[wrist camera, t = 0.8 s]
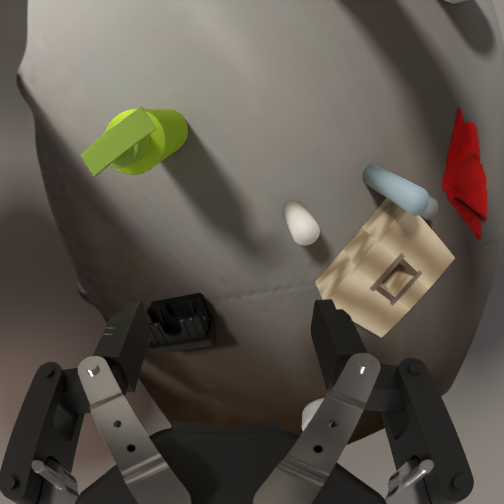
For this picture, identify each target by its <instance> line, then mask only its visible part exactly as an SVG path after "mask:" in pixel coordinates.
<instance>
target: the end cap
mask: <svg viewBox="0 0 504 504" xmlns="http://www.w3.org/2000/svg"><path fill="white" fill-rule="evenodd" d="M146 315H147V317H148V319H149V321H150V323H148V325H149V329H150V340H151V342H150V345H149V349H150V350H151V351H152V352H153V353H155V354H160V353H168V352H176V351H183V350H190V349H197V348H203V347H209V346H214V345H215V343H216V329H215V324H214V320H213V316H212V314H210V313H209V310H208V307H207V305H206V302H205V299H204V297H203V295H202V294H201V293H196V294H191V295H186V296H181V297H176V298H170V299H165V300H160V301H155V302H152V303H151V305H150V307H149V308H148V309H147V312H146Z"/></svg>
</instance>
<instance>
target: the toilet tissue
mask: <svg viewBox="0 0 504 504" xmlns="http://www.w3.org/2000/svg"><path fill="white" fill-rule="evenodd" d="M444 1H447V2H449V3H454V4H455V3H460V2H464V1H468V0H444Z"/></svg>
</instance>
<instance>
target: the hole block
mask: <svg viewBox="0 0 504 504" xmlns="http://www.w3.org/2000/svg"><path fill="white" fill-rule="evenodd" d="M454 259H455V257H454V256H453V255H452V253H451V252H450V251H449V250H448V248H447V247H446V246H445V245H444V243H443V242H442V241H441V240H440V239H439V237H438V236H437V235H436V234H435V233H434V231H433V230H432V229H431V228H430V227H429V226H428V224H427V223H426V222H425V221H424V220H423V219H422V218H421V217H420V215H418V216H413V215H411V214H410V213H408V212H407V211H405V210H404V209H403V208H401V207H400V206H398V205H397V204H395V203H394V202H392V201H391V200H389V199H388V198H385V200H384V201H383V202H382V203H381V205H380V206H379V207H378V208H377V210H376V211H375V212H374V213H373V215H372V216H371V217H370V218H369V219H368V221H367V222H366V223H365V224H364V226H363V227H362V228H361V229H360V230H359V232H358V233H357V234H356V235H355V236H354V237H353V239H352V240H351V241H350V242H349V243H348V245H347V246H346V247H345V248H344V249H343V250H342V252H341V253H340V254H339V255H338V256H337V257H336V259H335V260H334V261H333V262H332V263H331V264H330V265H329V267H328V268H327V269H326V270H325V271H324V272H323V273H322V274H321V276H320V277H319V278H318V279H317V280H316V281H315V283H316V285H317V287H318V290H319V292H320V294H321V297H322V299H323V300H324V299H332V300H333V302H334V305H335V307H336V309H343V310H344V311H345V312H347V313H348V314H349V315H350V317H351V319H352V321H354V322H355V323H357V324H359V325H361V326H362V327H364V328H366V329H367V330H369V331H371V332H372V333H374V334H376V335H378V336H379V337H381V338H382V337H383V336H384V335H385V334H386V333H387V332H388V331H389V330H390V329H391V328H392V327H393V326H394V325H395V324H396V323H397V322H398V321H399V320H400V319H401V318H402V317H403V316H404V315H405V314H406V313H407V312H408V311H409V310H410V309H411V308H412V307H413V306H414V305H415V304H416V303H417V301H418V300H419V299H420V298H421V297H422V296H423V295H424V294H425V293H426V292H427V290H428V289H429V288H430V287H431V286H432V285H433V284H434V283H435V281H436V280H437V279H438V278H439V277H440V276H441V274H442V273H443V272H444V271H445V270H446V268H447V267H448V266H449V265H450V263H451V262H452V261H453V260H454Z"/></svg>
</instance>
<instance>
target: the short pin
mask: <svg viewBox="0 0 504 504" xmlns="http://www.w3.org/2000/svg"><path fill="white" fill-rule="evenodd" d="M437 212H438V203H437V201H436V200H435V199H433V198H432V197H430V196H429V205H428V207H427V209H426V211H425V212H424V213H422V214H421V215H420V216H422V217H423V218H425V219H426V220H430V219H432V218H434V217H435V216H436V214H437Z"/></svg>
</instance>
